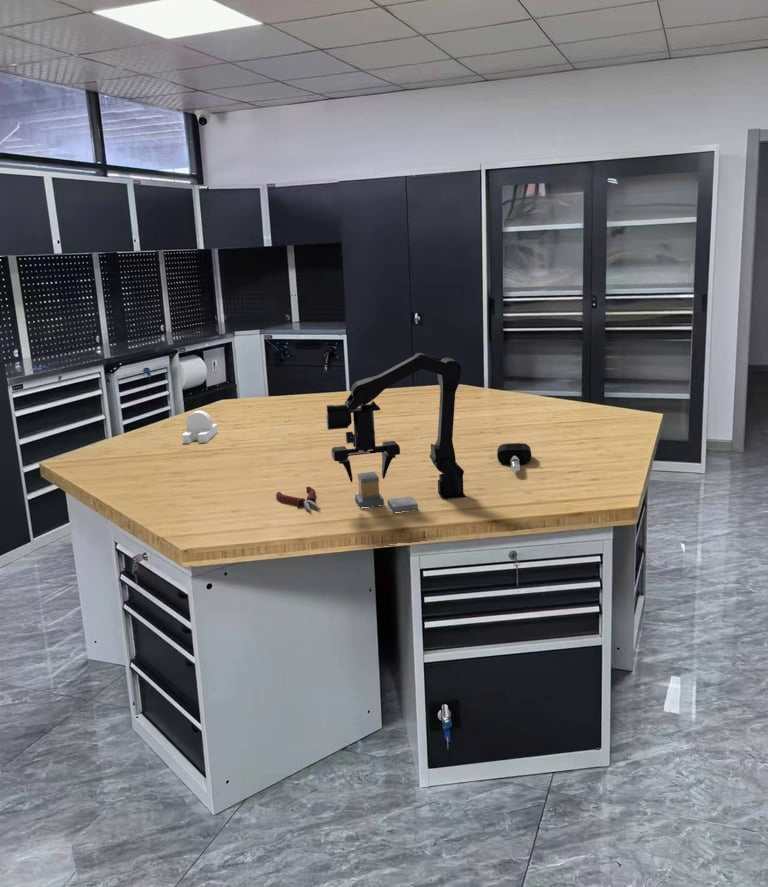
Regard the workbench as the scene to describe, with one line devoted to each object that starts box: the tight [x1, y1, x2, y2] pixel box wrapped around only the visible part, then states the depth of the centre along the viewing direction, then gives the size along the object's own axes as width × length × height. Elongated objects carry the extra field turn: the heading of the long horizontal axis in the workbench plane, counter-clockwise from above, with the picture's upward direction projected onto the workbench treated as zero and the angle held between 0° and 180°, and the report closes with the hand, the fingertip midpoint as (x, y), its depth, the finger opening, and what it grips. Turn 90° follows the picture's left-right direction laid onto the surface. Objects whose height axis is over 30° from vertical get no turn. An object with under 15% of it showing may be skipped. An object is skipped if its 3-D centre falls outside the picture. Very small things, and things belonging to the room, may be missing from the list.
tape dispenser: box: [181, 410, 219, 444], centre depth 327 cm, size 10×18×11 cm, turn 176°
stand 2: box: [387, 496, 419, 514], centre depth 230 cm, size 7×7×2 cm
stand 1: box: [354, 492, 385, 509], centre depth 235 cm, size 7×7×2 cm
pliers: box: [275, 486, 321, 513], centre depth 239 cm, size 12×20×3 cm, turn 25°
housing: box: [357, 471, 381, 501], centre depth 234 cm, size 6×5×6 cm
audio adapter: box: [496, 442, 532, 474], centre depth 263 cm, size 11×5×25 cm
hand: (367, 480), depth 234 cm, fingers open, 9 cm apart
